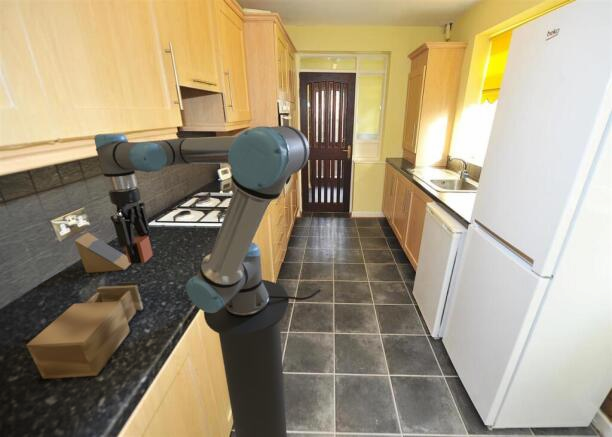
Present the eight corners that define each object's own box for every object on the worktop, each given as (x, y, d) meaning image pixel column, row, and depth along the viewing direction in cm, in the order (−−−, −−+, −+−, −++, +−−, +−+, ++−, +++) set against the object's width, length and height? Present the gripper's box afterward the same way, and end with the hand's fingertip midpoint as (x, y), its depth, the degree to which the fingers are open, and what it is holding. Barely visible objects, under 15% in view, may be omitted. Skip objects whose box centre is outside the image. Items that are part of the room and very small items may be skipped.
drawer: (117, 298, 93) (110, 276, 90) (151, 296, 94) (146, 275, 90) (76, 342, 75) (65, 316, 72) (118, 339, 76) (110, 314, 72)
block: (152, 255, 89) (148, 236, 87) (144, 262, 85) (140, 242, 82) (137, 255, 89) (132, 236, 87) (128, 263, 84) (123, 243, 82)
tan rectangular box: (85, 333, 79) (74, 303, 75) (130, 331, 80) (120, 301, 76) (42, 378, 65) (25, 345, 62) (97, 375, 66) (83, 342, 62)
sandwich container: (125, 270, 112) (115, 237, 107) (85, 273, 110) (73, 240, 105) (134, 260, 120) (126, 229, 115) (97, 262, 118) (87, 231, 113)
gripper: (128, 181, 87) (144, 246, 95) (88, 197, 70) (111, 273, 78) (152, 181, 87) (165, 245, 95) (117, 197, 70) (137, 273, 78)
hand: (141, 258), depth 87 cm, fingers closed on block, 5 cm apart
